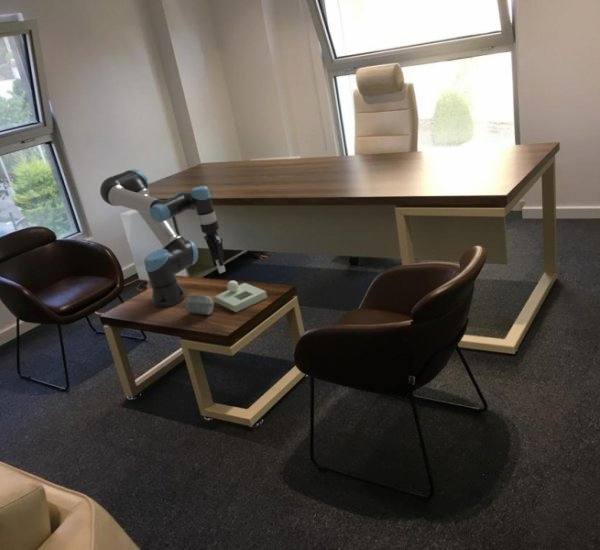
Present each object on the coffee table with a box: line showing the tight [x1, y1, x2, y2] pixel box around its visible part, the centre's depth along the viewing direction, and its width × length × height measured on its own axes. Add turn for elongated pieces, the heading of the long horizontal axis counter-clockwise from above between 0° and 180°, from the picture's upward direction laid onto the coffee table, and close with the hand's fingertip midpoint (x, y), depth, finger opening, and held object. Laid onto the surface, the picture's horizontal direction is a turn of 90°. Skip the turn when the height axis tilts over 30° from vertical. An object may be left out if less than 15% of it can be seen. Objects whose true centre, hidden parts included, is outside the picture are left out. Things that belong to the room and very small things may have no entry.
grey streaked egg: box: [185, 294, 215, 316], centre depth 253 cm, size 14×10×10 cm
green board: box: [214, 282, 268, 313], centre depth 258 cm, size 18×16×3 cm
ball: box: [226, 280, 239, 292], centre depth 261 cm, size 5×5×5 cm
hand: (222, 271), depth 264 cm, fingers closed
